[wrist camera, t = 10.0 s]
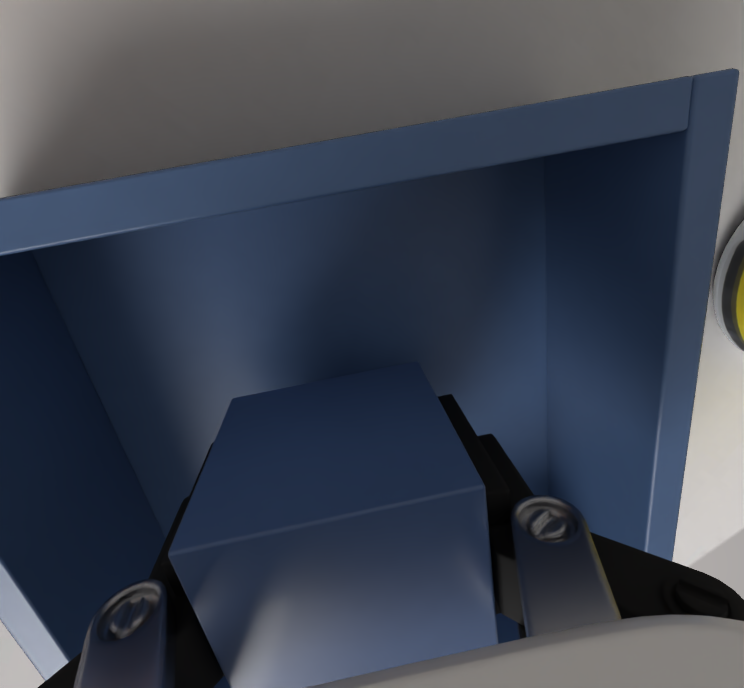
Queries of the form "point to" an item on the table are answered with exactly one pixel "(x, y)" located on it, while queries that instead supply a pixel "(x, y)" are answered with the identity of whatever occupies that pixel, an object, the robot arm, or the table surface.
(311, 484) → the blue block
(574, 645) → the robot arm
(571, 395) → the blue bin
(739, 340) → the pill bottle
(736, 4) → the table surface
